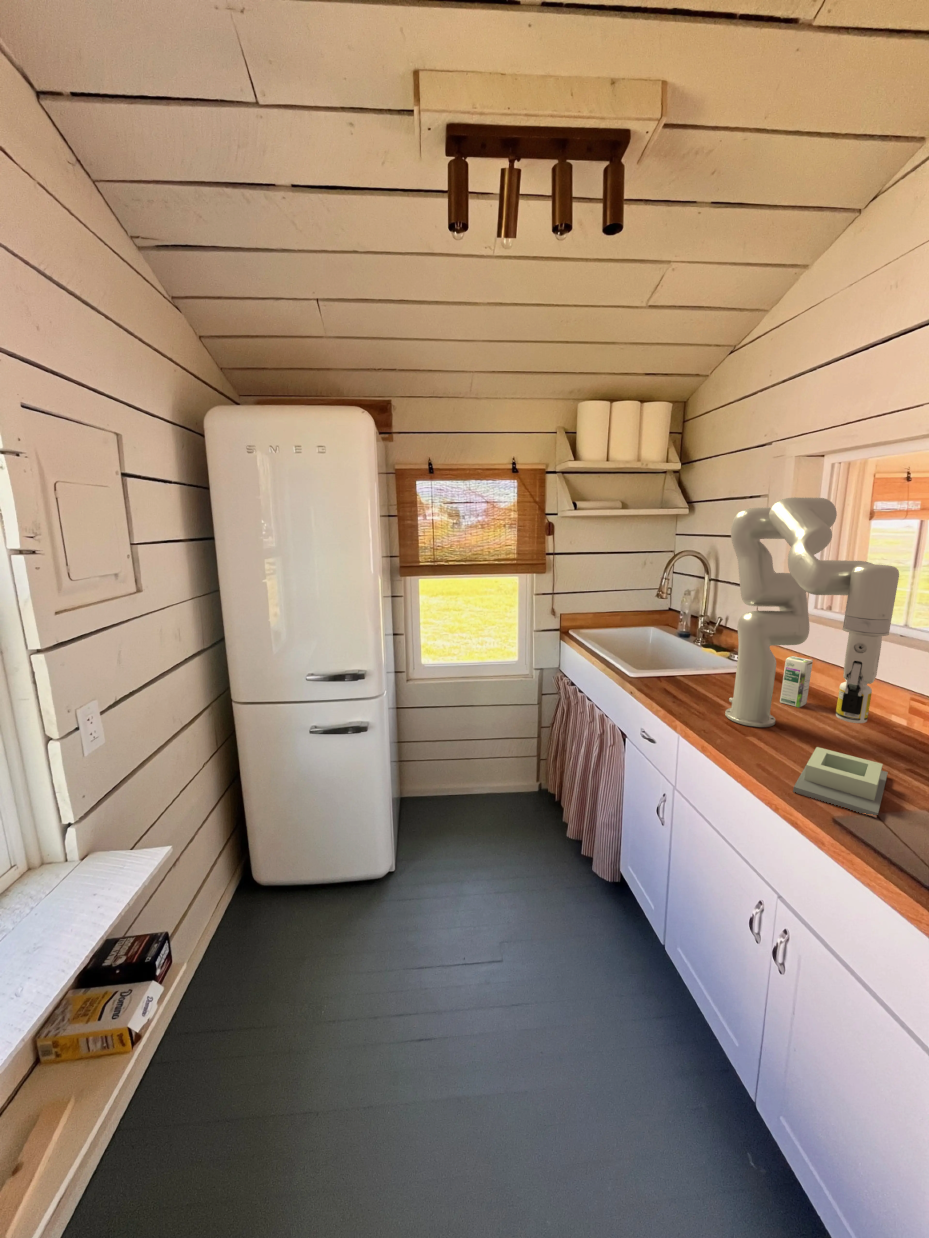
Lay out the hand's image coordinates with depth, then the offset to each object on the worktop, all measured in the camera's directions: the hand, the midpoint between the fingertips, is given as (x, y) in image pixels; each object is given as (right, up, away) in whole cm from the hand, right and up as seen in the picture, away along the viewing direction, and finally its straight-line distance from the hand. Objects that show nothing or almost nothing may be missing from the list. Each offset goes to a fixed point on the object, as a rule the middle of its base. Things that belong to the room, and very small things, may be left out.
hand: (852, 707), depth 107 cm
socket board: (0, -17, +3) cm, 18 cm away
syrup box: (+21, -8, +51) cm, 56 cm away
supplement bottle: (0, -3, +1) cm, 3 cm away
